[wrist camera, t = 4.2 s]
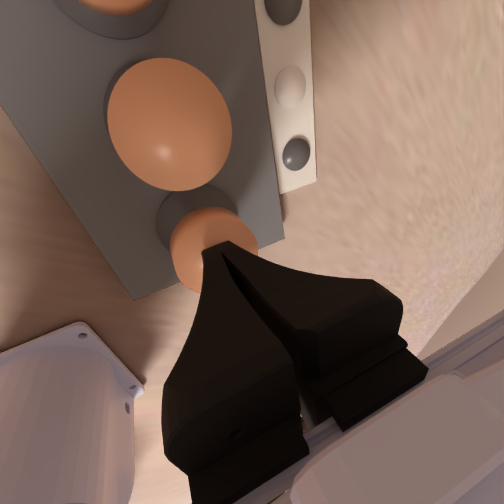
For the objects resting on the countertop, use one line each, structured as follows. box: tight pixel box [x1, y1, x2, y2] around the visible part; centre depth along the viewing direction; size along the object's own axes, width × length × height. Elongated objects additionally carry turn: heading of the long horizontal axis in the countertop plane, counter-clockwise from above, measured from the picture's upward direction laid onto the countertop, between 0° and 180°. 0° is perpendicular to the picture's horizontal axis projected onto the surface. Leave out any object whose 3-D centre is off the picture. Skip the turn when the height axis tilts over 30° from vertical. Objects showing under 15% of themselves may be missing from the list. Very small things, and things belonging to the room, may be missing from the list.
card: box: [253, 0, 316, 194], centre depth 14 cm, size 12×3×1 cm, turn 11°
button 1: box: [170, 207, 258, 293], centre depth 13 cm, size 4×4×3 cm
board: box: [0, 0, 285, 301], centre depth 12 cm, size 18×11×2 cm, turn 11°
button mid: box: [107, 58, 232, 191], centre depth 9 cm, size 4×4×3 cm
